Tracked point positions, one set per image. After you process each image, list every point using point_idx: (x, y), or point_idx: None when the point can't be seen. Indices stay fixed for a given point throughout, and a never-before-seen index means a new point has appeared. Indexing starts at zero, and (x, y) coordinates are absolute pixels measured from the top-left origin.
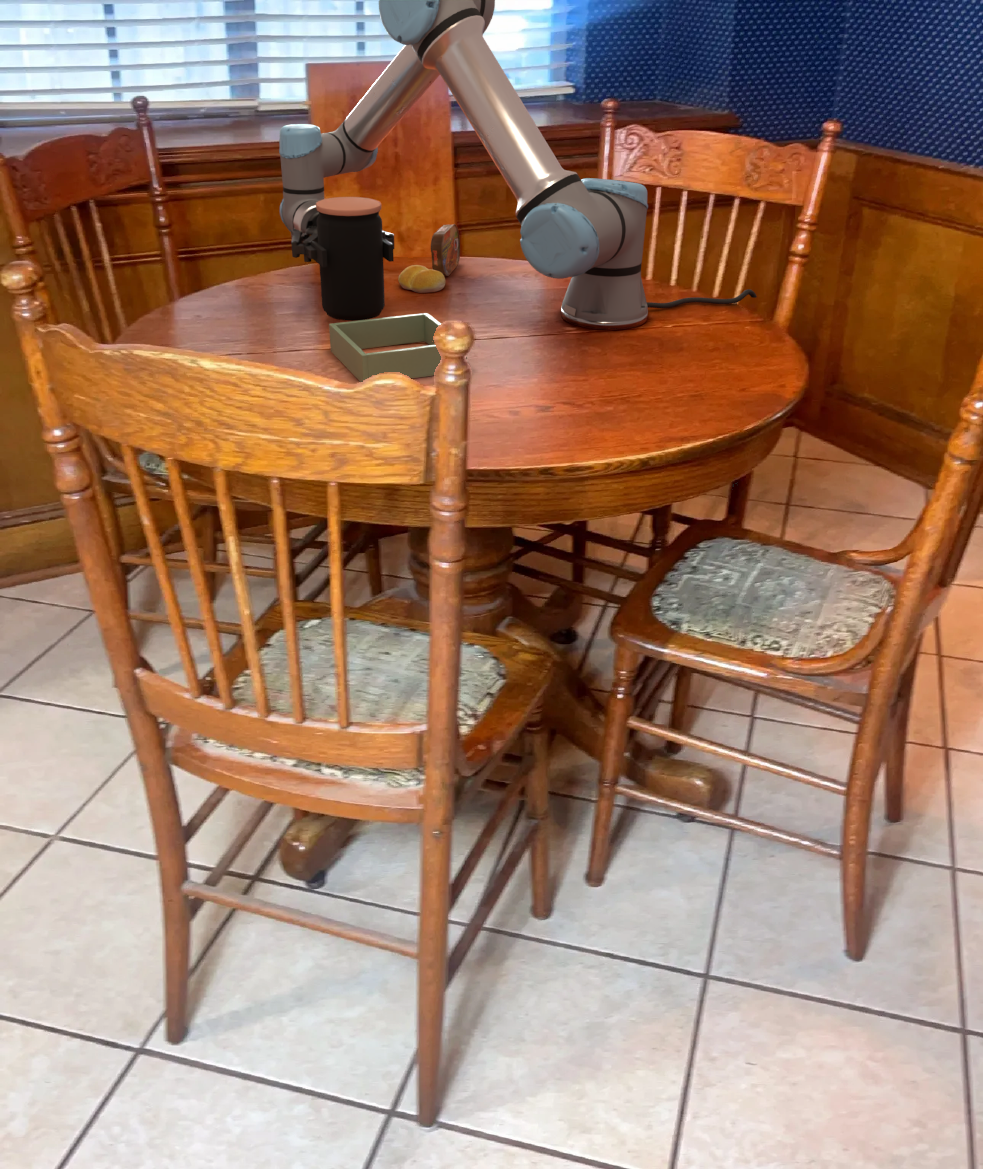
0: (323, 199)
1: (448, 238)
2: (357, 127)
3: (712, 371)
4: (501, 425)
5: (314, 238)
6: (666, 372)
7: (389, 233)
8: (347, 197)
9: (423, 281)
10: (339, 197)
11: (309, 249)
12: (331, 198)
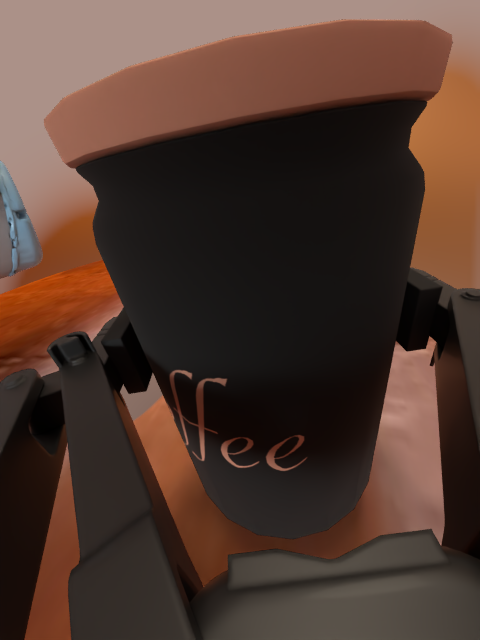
0: (420, 22)
1: None
2: None
3: (46, 292)
4: None
5: (459, 339)
6: (71, 291)
7: (13, 380)
8: (170, 64)
9: None
10: (250, 38)
11: (421, 272)
12: (341, 29)
